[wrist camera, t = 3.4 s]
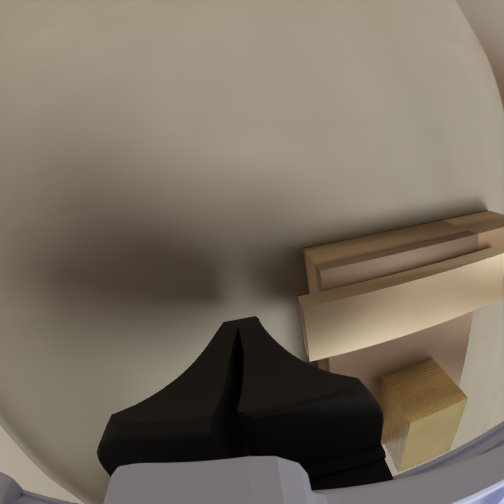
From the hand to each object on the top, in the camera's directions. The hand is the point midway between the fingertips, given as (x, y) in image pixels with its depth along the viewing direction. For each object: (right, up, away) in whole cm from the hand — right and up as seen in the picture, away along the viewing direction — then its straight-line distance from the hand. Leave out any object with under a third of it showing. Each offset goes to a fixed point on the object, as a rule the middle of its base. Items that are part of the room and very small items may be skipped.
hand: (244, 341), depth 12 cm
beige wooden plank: (+7, +2, 0) cm, 7 cm away
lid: (+8, -2, +2) cm, 8 cm away
